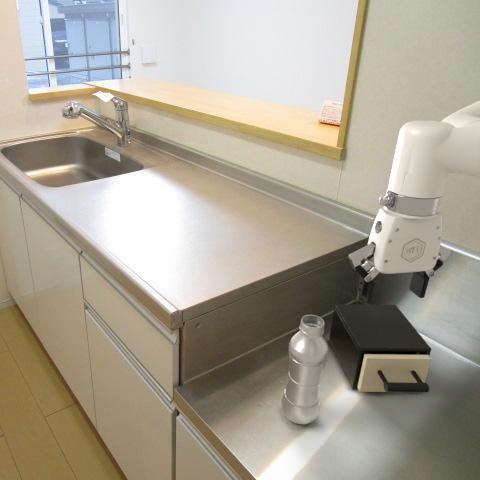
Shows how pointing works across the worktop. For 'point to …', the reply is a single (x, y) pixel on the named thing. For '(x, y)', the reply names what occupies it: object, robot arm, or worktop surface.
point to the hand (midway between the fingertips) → (390, 296)
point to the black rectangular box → (371, 335)
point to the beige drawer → (394, 372)
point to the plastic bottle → (305, 371)
